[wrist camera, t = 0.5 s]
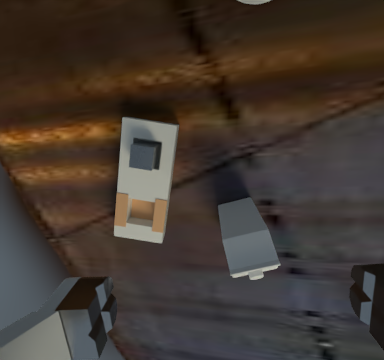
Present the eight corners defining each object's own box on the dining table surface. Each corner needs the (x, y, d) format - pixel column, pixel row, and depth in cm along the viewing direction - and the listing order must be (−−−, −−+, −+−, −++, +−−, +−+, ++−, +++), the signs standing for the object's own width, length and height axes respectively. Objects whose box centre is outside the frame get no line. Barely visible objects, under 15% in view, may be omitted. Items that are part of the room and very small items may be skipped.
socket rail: (129, 116, 49) (122, 117, 45) (179, 124, 49) (177, 125, 45) (120, 227, 55) (113, 236, 51) (164, 234, 55) (161, 243, 51)
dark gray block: (140, 140, 49) (130, 144, 42) (161, 143, 49) (154, 148, 42) (139, 159, 50) (128, 167, 44) (158, 162, 50) (151, 170, 43)
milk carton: (217, 205, 53) (224, 254, 35) (250, 196, 52) (275, 242, 34) (225, 234, 55) (236, 296, 36) (257, 226, 54) (285, 285, 36)
